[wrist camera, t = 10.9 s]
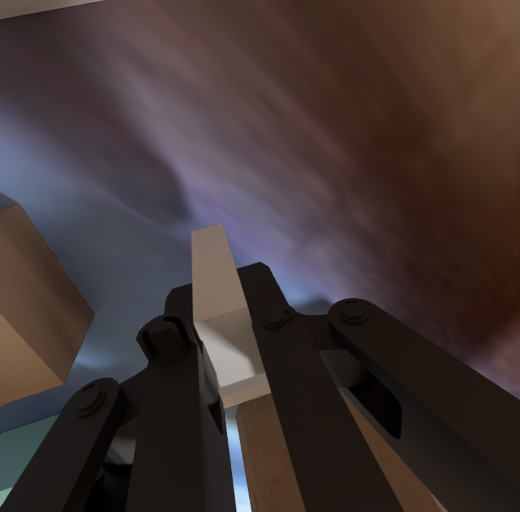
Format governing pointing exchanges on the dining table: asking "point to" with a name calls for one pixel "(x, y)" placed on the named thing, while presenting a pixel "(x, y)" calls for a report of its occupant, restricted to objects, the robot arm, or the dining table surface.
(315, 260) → the dining table surface
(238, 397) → the walled lane
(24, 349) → the walnut block
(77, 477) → the robot arm
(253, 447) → the wooden block
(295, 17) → the dining table surface
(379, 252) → the dining table surface
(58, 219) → the dining table surface
